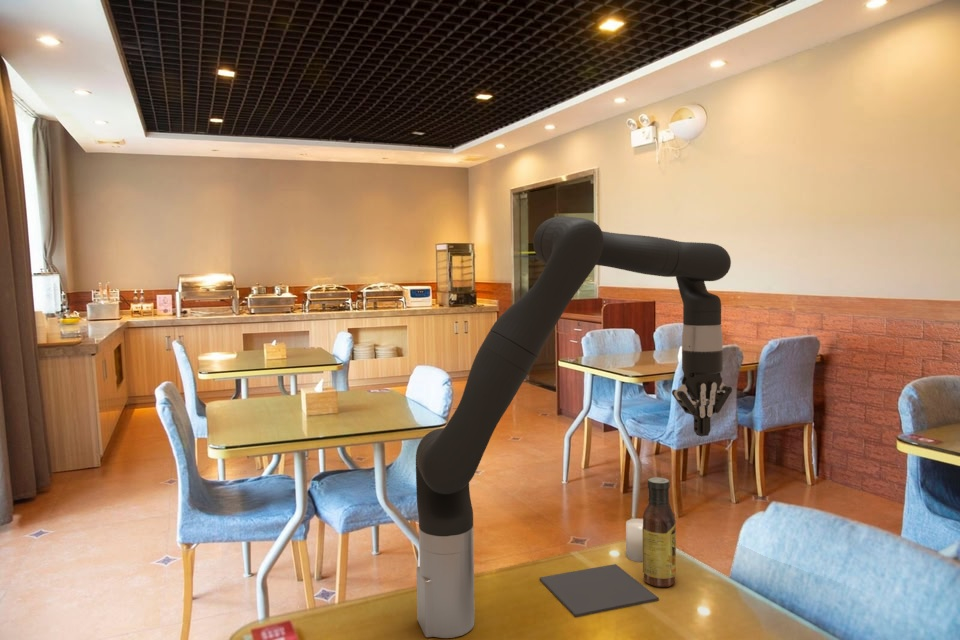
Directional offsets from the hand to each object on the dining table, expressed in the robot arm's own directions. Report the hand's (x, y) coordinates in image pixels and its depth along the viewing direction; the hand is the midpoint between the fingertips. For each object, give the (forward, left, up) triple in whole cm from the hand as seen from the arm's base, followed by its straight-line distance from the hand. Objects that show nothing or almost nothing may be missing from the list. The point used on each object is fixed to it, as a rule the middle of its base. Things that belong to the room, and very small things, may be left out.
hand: (702, 435), depth 129 cm
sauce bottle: (-10, 0, -28) cm, 30 cm away
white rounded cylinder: (-7, +11, -28) cm, 31 cm away
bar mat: (-23, +1, -28) cm, 36 cm away
